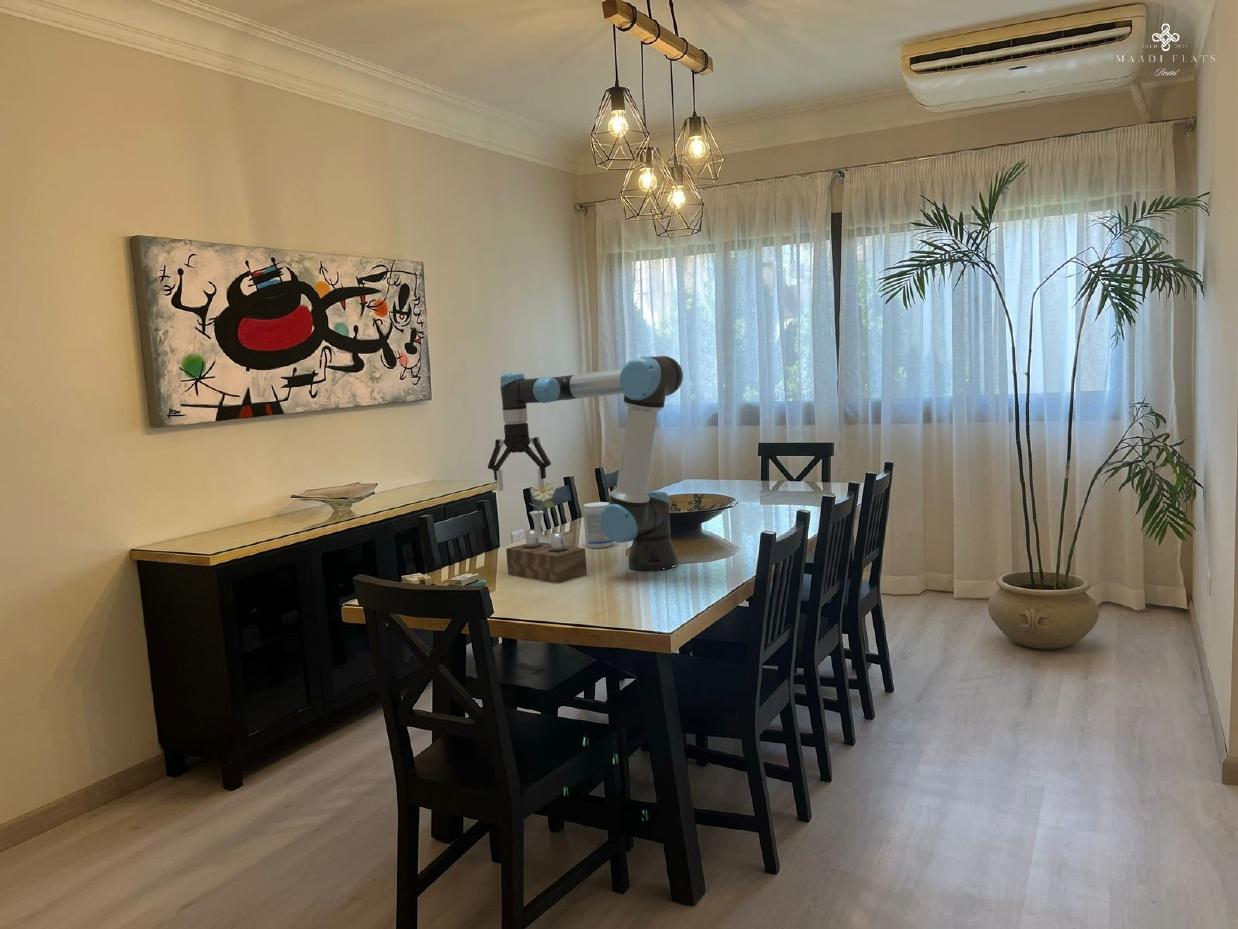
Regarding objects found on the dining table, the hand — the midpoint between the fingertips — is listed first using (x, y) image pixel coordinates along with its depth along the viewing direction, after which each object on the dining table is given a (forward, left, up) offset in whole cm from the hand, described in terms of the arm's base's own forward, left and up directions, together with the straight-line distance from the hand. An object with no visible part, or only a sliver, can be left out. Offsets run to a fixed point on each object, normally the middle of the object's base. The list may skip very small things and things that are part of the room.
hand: (521, 490), depth 288 cm
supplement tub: (0, -34, -25) cm, 42 cm away
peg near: (-21, +5, -19) cm, 29 cm away
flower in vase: (+11, -17, -24) cm, 32 cm away
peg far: (-10, +5, -19) cm, 22 cm away
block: (-15, +5, -24) cm, 29 cm away
